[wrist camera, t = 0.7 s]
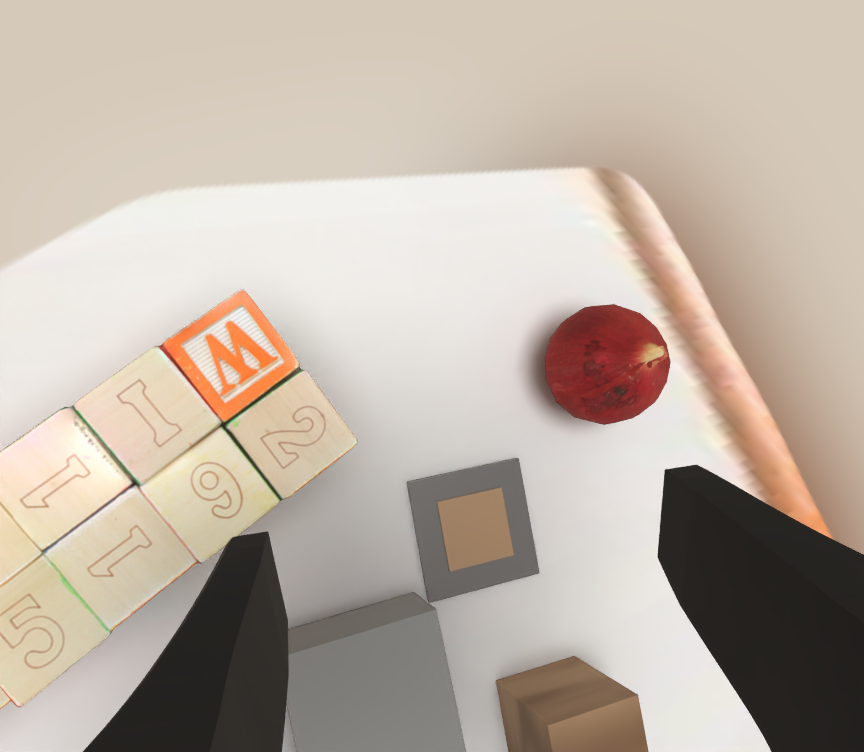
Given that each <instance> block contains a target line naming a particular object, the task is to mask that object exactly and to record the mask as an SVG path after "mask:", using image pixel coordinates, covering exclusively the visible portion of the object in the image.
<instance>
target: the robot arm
mask: <svg viewBox="0 0 864 752" xmlns="http://www.w3.org/2000/svg"><path fill="white" fill-rule="evenodd" d="M658 559H659V561H660V563H661V566H662V568H663V570H664V572H665V574H666V577H667V579H668V581H669V583H670V585H671V587H672V589H673V591H674V593H675V595H676V598H677V600H678V602H679V604H680V606H681V607H682V609H683V610H684V612H685V614H686V615H687V617H688V618H689V620H690V622H691V623H692V625H693V626H694V628H695V629H696V631H697V632H698V634H699V636H700V637H701V639H702V640H703V642H704V643H705V645H706V646H707V648H708V650H709V651H710V653H711V654H712V656H713V657H714V659H715V660H716V662H717V663H718V665H719V666H720V668H721V669H722V671H723V673H724V674H725V676H726V677H727V679H728V680H729V682H730V683H731V685H732V686H733V688H734V689H735V691H736V692H737V694H738V696H739V697H740V699H741V700H742V702H743V703H744V705H745V706H746V708H747V709H748V711H749V713H750V714H751V716H752V718H753V719H754V721H755V723H756V724H757V726H758V728H759V729H760V731H761V733H762V734H763V736H764V738H765V740H766V742H767V744H768V746H769V748H770V750H771V751H772V752H864V555H863V554H861V553H859V552H857V551H855V550H853V549H851V548H849V547H847V546H845V545H843V544H841V543H839V542H837V541H835V540H833V539H831V538H829V537H827V536H825V535H823V534H821V533H819V532H817V531H815V530H813V529H811V528H809V527H807V526H806V525H804V524H802V523H800V522H798V521H796V520H795V519H793V518H791V517H789V516H787V515H786V514H784V513H782V512H780V511H778V510H777V509H775V508H773V507H771V506H770V505H768V504H766V503H764V502H763V501H761V500H759V499H757V498H756V497H754V496H752V495H750V494H749V493H747V492H745V491H743V490H742V489H740V488H738V487H736V486H735V485H733V484H731V483H729V482H728V481H726V480H724V479H722V478H721V477H719V476H717V475H715V474H714V473H712V472H710V471H708V470H706V469H704V468H702V467H700V466H698V465H692V466H685V467H679V468H672V469H666V470H665V474H664V486H663V498H662V510H661V522H660V534H659V546H658ZM288 678H289V656H288V619H287V615H286V610H285V606H284V601H283V597H282V592H281V588H280V583H279V579H278V574H277V570H276V565H275V561H274V556H273V552H272V547H271V543H270V538H269V534H268V532H262V533H255V534H249V535H243V536H236V537H232V538H231V539H230V541H229V542H228V543H227V545H226V546H225V548H224V550H223V552H222V554H221V556H220V558H219V560H218V562H217V564H216V566H215V568H214V569H213V571H212V573H211V575H210V577H209V578H208V580H207V582H206V584H205V585H204V587H203V589H202V591H201V592H200V594H199V596H198V598H197V599H196V601H195V602H194V604H193V606H192V607H191V609H190V611H189V612H188V614H187V615H186V617H185V619H184V620H183V622H182V624H181V625H180V627H179V628H178V630H177V631H176V633H175V635H174V636H173V638H172V639H171V640H170V642H169V643H168V645H167V646H166V648H165V649H164V650H163V652H162V653H161V655H160V656H159V658H158V659H157V661H156V662H155V663H154V665H153V666H152V668H151V669H150V671H149V672H148V673H147V675H146V676H145V678H144V679H143V680H142V682H141V683H140V684H139V685H138V687H137V688H136V689H135V691H134V692H133V693H132V695H131V696H130V697H129V698H128V700H127V701H126V702H125V703H124V705H123V706H122V707H121V708H120V710H119V711H118V712H117V713H116V714H115V716H114V717H113V718H112V719H111V720H110V722H109V723H108V724H107V725H106V726H105V728H104V729H103V730H102V731H101V732H100V733H99V734H98V735H97V737H96V738H95V739H94V740H93V741H92V742H91V743H90V744H89V745H88V747H87V748H86V749H85V750H84V751H83V752H282V744H283V733H284V723H285V712H286V701H287V690H288Z"/></svg>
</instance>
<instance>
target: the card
mask: <svg viewBox="0 0 864 752" xmlns="http://www.w3.org/2000/svg"><path fill="white" fill-rule="evenodd" d="M407 485H408V491H409V497H410V502H411V508H412V514H413V519H414V525H415V530H416V536H417V542H418V547H419V553H420V558H421V564H422V570H423V575H424V581H425V586H426V592H427V598H428V602H430V603H431V602H434V601H438V600H442V599H446V598H449V597H453V596H457V595H460V594H464V593H468V592H472V591H475V590H479V589H483V588H486V587H490V586H494V585H498V584H501V583H505V582H509V581H512V580H516V579H520V578H523V577H527V576H531V575H535V574H538V573H539V568H538V562H537V557H536V551H535V546H534V540H533V535H532V529H531V524H530V518H529V513H528V507H527V502H526V496H525V491H524V485H523V480H522V474H521V469H520V463H519V458H515V459H510V460H506V461H501V462H496V463H492V464H487V465H482V466H478V467H473V468H468V469H464V470H459V471H455V472H450V473H445V474H441V475H436V476H431V477H427V478H422V479H417V480H413V481H408V482H407Z"/></svg>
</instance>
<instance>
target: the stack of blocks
mask: <svg viewBox="0 0 864 752" xmlns="http://www.w3.org/2000/svg"><path fill="white" fill-rule="evenodd" d="M357 443H358V440H357V439H356V437H355V436H354V435H353V433H352V432H351V431H350V429H349V428H348V427H347V425H346V424H345V423H344V421H343V420H342V419H341V417H340V416H339V415H338V413H337V412H336V410H335V409H334V408H333V406H332V405H331V404H330V402H329V401H328V400H327V398H326V397H325V395H324V394H323V393H322V391H321V390H320V389H319V387H318V386H317V384H316V383H315V382H314V380H313V379H312V378H311V376H310V375H309V373H308V372H307V371H306V370H301V369H300V364H299V362H298V361H297V359H296V357H295V356H294V354H293V353H292V352H291V350H290V349H289V348H288V346H287V345H286V344H285V342H284V341H283V340H282V338H281V337H280V336H279V334H278V333H277V332H276V330H275V329H274V328H273V326H272V325H271V324H270V322H269V321H268V320H267V318H266V317H265V316H264V314H263V313H262V312H261V310H260V309H259V308H258V306H257V305H256V304H255V303H254V301H253V300H252V299H251V297H250V296H249V295H248V294H247V293H246V292H245V290H243V289H240V290H239V291H237V292H236V293H234V294H233V295H231V296H230V297H228V298H227V299H225V300H224V301H223V302H221V303H220V304H218V305H217V306H215V307H214V308H213V309H211V310H210V311H208V312H207V313H205V314H204V315H202V316H201V317H200V318H198V319H197V320H195V321H194V322H192V323H191V324H189V325H188V326H186V327H185V328H183V329H182V330H180V331H179V332H177V333H176V334H174V335H173V336H172V337H170V338H169V339H167V340H166V341H165V342H164V343H163V344H162V345H161V346H155V347H153V348H151V349H150V350H148V351H147V352H145V353H144V354H142V355H141V356H140V357H138V358H137V359H135V360H134V361H133V362H131V363H130V364H128V365H127V366H126V367H124V368H123V369H121V370H120V371H119V372H117V373H116V374H114V375H113V376H112V377H110V378H109V379H107V380H106V381H104V382H103V383H102V384H100V385H99V386H97V387H96V388H95V389H93V390H92V391H91V392H89V393H88V394H86V395H85V396H84V397H82V398H81V399H79V400H78V401H77V402H76V403H75V404H74V405H73V406H72V407H64V408H62V409H60V410H58V411H57V412H56V413H54V414H53V415H51V416H50V417H48V418H47V419H45V420H44V421H42V422H41V423H40V424H39V425H37V426H36V427H35V428H33V429H32V430H30V431H29V432H27V433H26V434H24V435H23V436H22V437H20V438H19V439H17V440H16V441H14V442H13V443H12V444H10V445H9V446H7V447H6V448H5V449H3V450H2V451H0V709H1V708H2V707H4V706H5V705H6V704H7V703H9V702H10V701H12V702H13V703H14V704H15V705H16V706H17V707H22V706H23V705H24V704H26V703H27V702H28V701H29V700H31V699H32V698H33V697H34V696H36V695H37V694H38V693H39V692H41V691H42V690H43V689H44V688H46V687H47V686H48V685H49V684H51V683H52V682H53V681H54V680H55V679H57V678H58V677H59V676H60V675H62V674H63V673H64V672H65V671H67V670H68V669H69V668H70V667H71V666H73V665H74V664H75V663H76V662H78V661H79V660H80V659H81V658H82V657H84V656H85V655H86V654H87V653H89V652H90V651H91V650H92V649H94V648H95V647H96V646H97V645H99V644H100V643H101V642H102V641H104V640H105V639H106V638H107V637H109V635H110V634H111V632H112V630H113V629H114V628H115V627H117V626H118V625H119V624H120V623H122V622H123V621H124V620H126V619H127V618H128V617H130V616H131V615H132V614H133V613H135V612H136V611H137V610H138V609H140V608H141V607H142V606H143V605H145V604H146V603H147V602H148V601H150V600H151V599H152V598H153V597H155V596H156V595H157V594H158V593H160V592H161V591H162V590H163V589H165V588H166V587H167V586H169V585H170V584H171V583H172V582H174V581H175V580H176V579H177V578H179V577H180V576H181V575H182V574H184V573H185V572H186V571H187V570H188V569H190V568H191V567H192V566H193V565H194V564H196V563H203V562H205V561H207V560H208V559H209V558H210V557H212V556H213V555H214V554H215V553H217V552H218V551H219V550H221V549H222V548H223V547H224V546H226V545H227V543H228V542H229V541H230V539H231V538H232V537H236V536H238V535H239V534H241V533H242V532H243V531H244V530H245V529H247V528H248V527H249V526H251V525H252V524H253V523H255V522H256V521H257V520H258V519H260V518H261V517H262V516H264V515H265V514H266V513H268V512H269V511H270V510H271V509H273V508H274V507H275V506H276V505H277V504H278V503H279V502H280V501H281V500H283V499H286V498H288V497H290V496H291V495H292V494H294V493H295V492H296V491H298V490H299V489H300V488H301V487H303V486H304V485H305V484H307V483H308V482H309V481H310V480H312V479H313V478H314V477H316V476H317V475H318V474H320V473H321V472H322V471H324V470H325V469H326V468H327V467H329V466H330V465H331V464H333V463H334V462H335V461H337V460H338V459H339V458H340V457H342V456H343V455H344V454H345V453H347V452H348V451H349V450H351V449H352V448H353V447H354V446H355V445H356V444H357Z"/></svg>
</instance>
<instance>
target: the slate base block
mask: <svg viewBox="0 0 864 752" xmlns="http://www.w3.org/2000/svg"><path fill="white" fill-rule="evenodd" d="M288 656H289V678H288V690H287V701H286V704H287V709H288V713H289V718H290V723H291V728H292V733H293V738H294V743H295V747H296V752H466V749H465V744H464V739H463V735H462V730H461V725H460V720H459V716H458V711H457V706H456V701H455V697H454V692H453V687H452V682H451V678H450V673H449V668H448V663H447V659H446V654H445V649H444V644H443V640H442V635H441V630H440V625H439V621H438V616H437V611H436V609H435V608H434V607H433V606H431V605H430V604H429V603H427V602H426V601H425V600H424V599H422V598H421V597H420V596H418V595H417V594H416V593H415V592H412V593H409V594H406V595H402V596H399V597H396V598H392V599H389V600H385V601H382V602H379V603H375V604H372V605H369V606H365V607H362V608H359V609H355V610H352V611H348V612H345V613H342V614H338V615H335V616H332V617H328V618H325V619H322V620H318V621H315V622H311V623H308V624H305V625H301V626H298V627H295V628H291V629H288Z"/></svg>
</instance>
